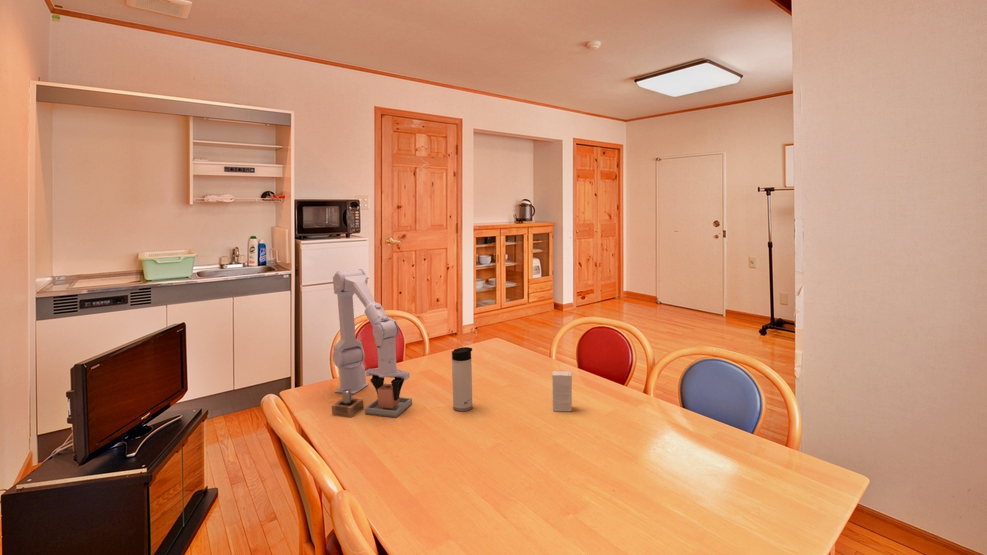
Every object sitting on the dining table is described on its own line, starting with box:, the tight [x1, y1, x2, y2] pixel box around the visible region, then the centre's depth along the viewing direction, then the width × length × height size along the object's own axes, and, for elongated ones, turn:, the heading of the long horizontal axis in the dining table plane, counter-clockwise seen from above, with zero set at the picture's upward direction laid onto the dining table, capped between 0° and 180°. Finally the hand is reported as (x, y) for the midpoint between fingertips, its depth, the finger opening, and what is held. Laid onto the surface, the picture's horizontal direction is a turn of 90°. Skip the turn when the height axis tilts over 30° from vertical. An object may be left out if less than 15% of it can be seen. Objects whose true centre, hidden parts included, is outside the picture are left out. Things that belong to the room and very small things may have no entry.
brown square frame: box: [331, 397, 365, 418], centre depth 153 cm, size 7×7×3 cm
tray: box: [364, 396, 413, 419], centre depth 155 cm, size 11×11×2 cm
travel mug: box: [451, 346, 473, 412], centre depth 154 cm, size 6×7×20 cm
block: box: [377, 382, 400, 408], centre depth 154 cm, size 5×5×6 cm
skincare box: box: [551, 370, 573, 412], centre depth 152 cm, size 6×4×12 cm
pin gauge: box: [341, 389, 353, 406], centre depth 153 cm, size 3×3×7 cm
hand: (388, 398), depth 154 cm, fingers closed on block, 5 cm apart
